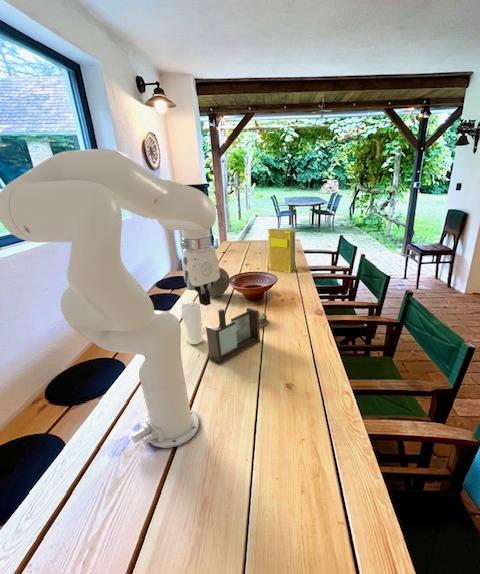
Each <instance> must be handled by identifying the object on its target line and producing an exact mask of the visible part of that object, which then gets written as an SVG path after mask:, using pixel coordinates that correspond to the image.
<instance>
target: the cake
mask: <svg viewBox="0 0 480 574" xmlns="http://www.w3.org/2000/svg"><path fill="white" fill-rule="evenodd" d="M267 318H268V316H267V314H266V313H264V312H262V311H259V328H263V327H265V326H267V325H268V319H267Z"/></svg>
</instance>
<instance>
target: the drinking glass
mask: <svg viewBox="0 0 480 574" xmlns="http://www.w3.org/2000/svg"><path fill="white" fill-rule="evenodd" d="M180 312H181V318H182V321H183V326H184V329H185V333H186V337H187V342H188V344H190V345H199V344H201V343H202V342H203V329H202V310H201V305H200V302H197V301H188V302H184V303H182V304H181V305H180Z"/></svg>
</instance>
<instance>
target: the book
mask: <svg viewBox="0 0 480 574" xmlns="http://www.w3.org/2000/svg"><path fill="white" fill-rule="evenodd" d="M267 244H268V266H269V267H268V268H269V270H271V271H276V272H284V273H289V274H290V273H293V272H294V271H296V229H285V228H283V229H282V228H268V229H267Z"/></svg>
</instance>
